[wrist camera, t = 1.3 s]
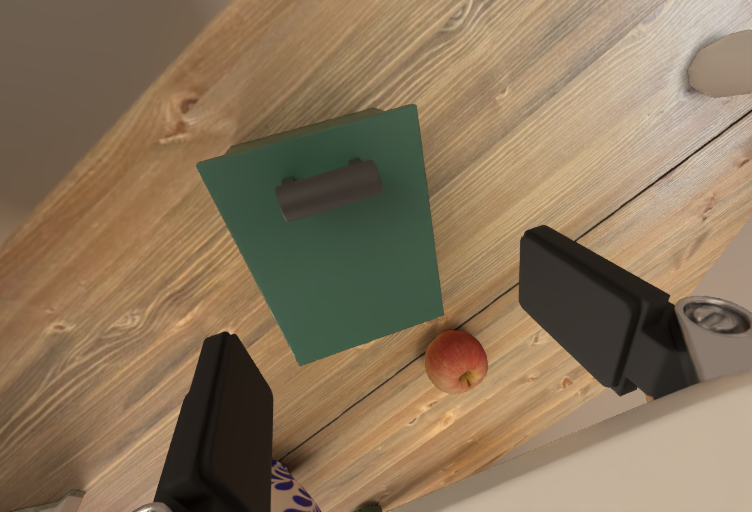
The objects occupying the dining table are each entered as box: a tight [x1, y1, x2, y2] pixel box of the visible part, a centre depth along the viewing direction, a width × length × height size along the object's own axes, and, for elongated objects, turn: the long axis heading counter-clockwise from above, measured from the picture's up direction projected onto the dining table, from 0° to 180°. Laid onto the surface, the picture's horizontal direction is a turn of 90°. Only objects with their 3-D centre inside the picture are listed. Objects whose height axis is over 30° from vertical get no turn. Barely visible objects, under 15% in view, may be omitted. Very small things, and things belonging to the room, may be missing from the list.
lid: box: [196, 104, 444, 366], centre depth 21 cm, size 17×13×5 cm
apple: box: [425, 330, 488, 394], centre depth 41 cm, size 8×8×8 cm
